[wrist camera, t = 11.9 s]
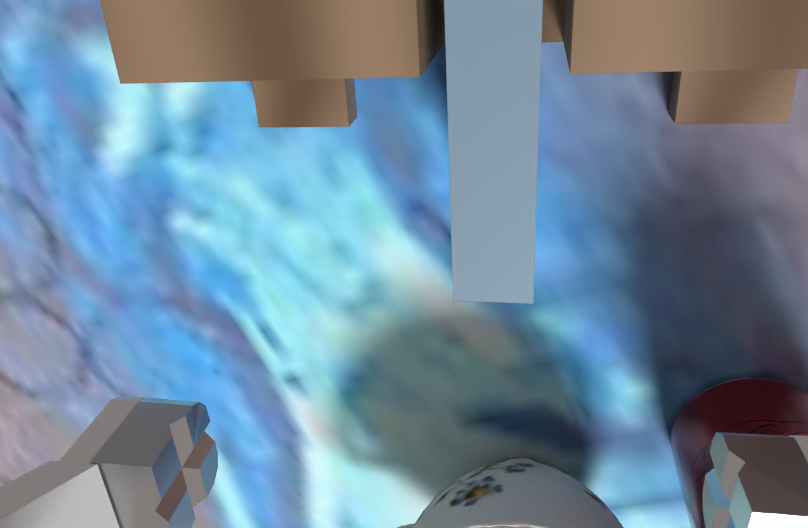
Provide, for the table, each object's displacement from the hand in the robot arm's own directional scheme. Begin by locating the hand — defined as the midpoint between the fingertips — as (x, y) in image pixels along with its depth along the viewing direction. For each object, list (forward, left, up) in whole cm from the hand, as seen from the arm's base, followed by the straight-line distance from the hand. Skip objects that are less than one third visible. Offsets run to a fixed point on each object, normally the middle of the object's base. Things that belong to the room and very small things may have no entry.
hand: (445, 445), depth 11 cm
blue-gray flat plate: (0, +5, -20) cm, 21 cm away
